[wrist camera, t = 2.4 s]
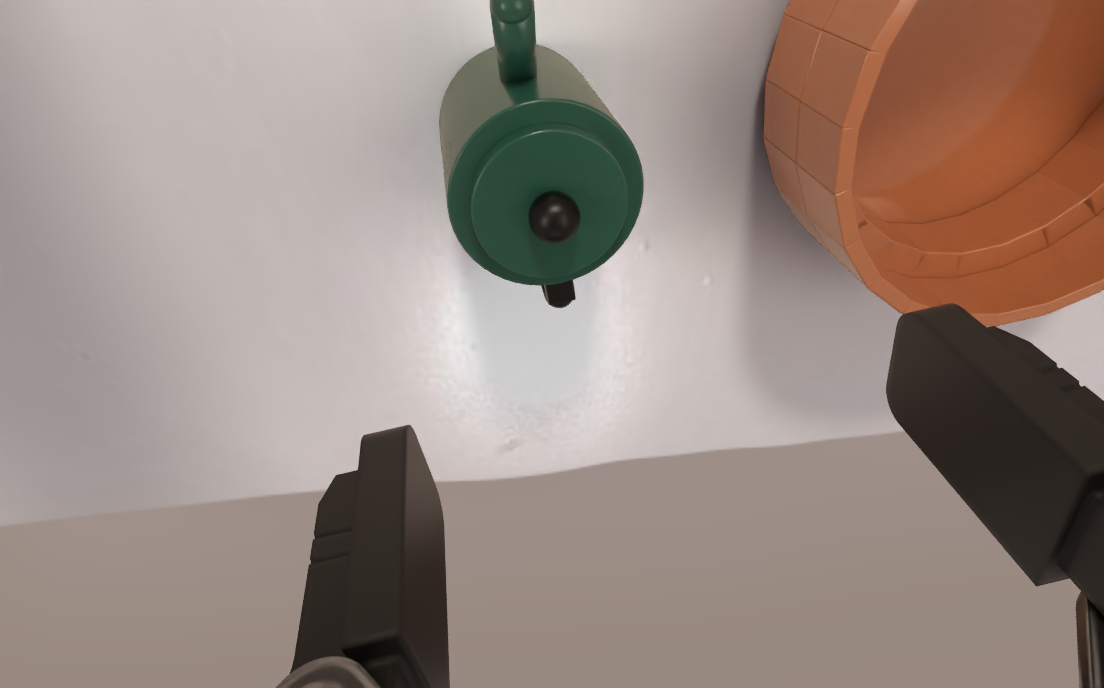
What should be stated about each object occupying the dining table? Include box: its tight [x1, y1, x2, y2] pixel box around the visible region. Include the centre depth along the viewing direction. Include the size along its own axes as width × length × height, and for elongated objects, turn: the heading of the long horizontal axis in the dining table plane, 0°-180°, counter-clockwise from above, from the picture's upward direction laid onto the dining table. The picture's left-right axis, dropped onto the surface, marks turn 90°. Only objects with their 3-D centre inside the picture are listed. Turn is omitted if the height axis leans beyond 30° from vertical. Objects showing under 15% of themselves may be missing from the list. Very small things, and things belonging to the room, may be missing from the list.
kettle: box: [439, 0, 643, 308], centre depth 21 cm, size 10×6×8 cm, turn 8°
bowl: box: [764, 0, 1104, 327], centre depth 23 cm, size 16×16×6 cm
